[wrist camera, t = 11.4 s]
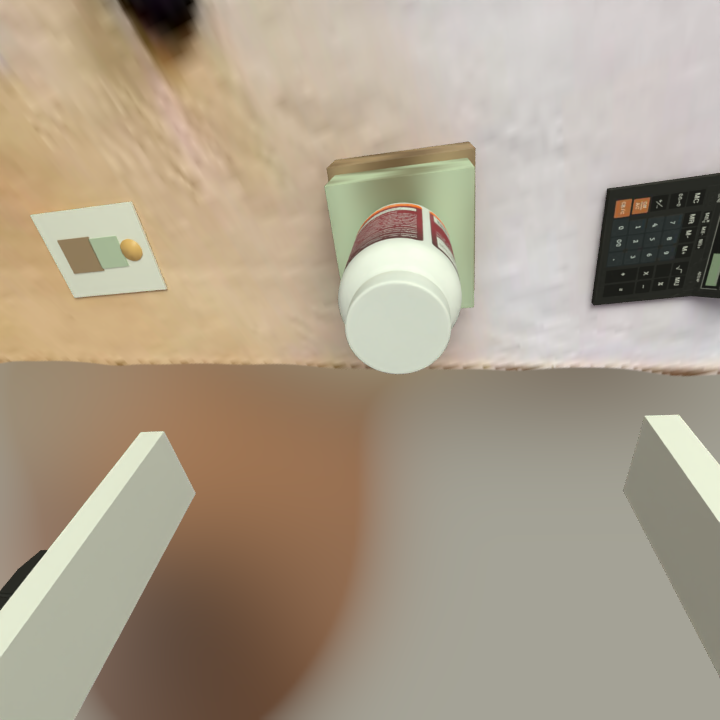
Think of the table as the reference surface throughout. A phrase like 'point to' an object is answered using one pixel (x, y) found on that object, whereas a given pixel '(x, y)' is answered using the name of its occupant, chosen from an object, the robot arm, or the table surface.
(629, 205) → the calculator
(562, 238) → the table surface
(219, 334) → the table surface
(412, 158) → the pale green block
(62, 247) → the page
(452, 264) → the pill bottle
